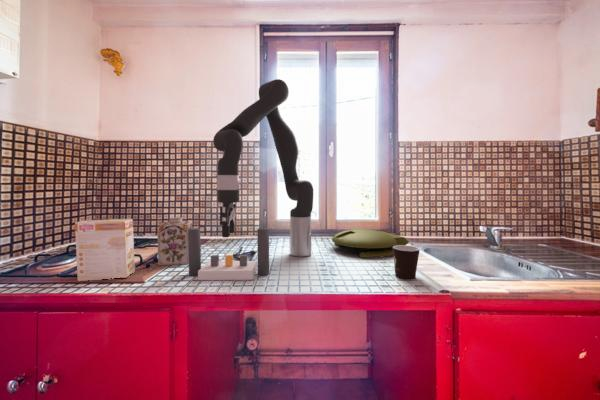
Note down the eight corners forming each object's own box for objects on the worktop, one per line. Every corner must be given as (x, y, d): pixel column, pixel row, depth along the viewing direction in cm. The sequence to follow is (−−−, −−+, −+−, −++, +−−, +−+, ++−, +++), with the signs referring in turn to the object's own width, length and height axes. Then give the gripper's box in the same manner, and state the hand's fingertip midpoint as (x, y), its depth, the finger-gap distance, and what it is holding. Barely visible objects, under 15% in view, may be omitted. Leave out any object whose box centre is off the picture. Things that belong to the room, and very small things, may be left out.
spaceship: (380, 241, 158) (380, 224, 157) (419, 255, 129) (420, 233, 128) (322, 245, 147) (322, 227, 146) (350, 261, 118) (351, 238, 117)
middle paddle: (233, 264, 101) (233, 254, 100) (232, 266, 99) (232, 255, 99) (226, 264, 100) (226, 254, 100) (225, 266, 99) (225, 255, 99)
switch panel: (257, 268, 106) (256, 251, 106) (252, 279, 94) (252, 260, 94) (208, 268, 106) (208, 251, 105) (198, 280, 94) (197, 260, 93)
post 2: (269, 271, 102) (269, 228, 101) (268, 275, 98) (268, 230, 97) (258, 272, 102) (258, 228, 101) (257, 275, 98) (256, 230, 97)
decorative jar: (157, 266, 109) (156, 219, 108) (165, 258, 121) (164, 216, 119) (190, 264, 112) (189, 219, 111) (194, 256, 123) (193, 215, 122)
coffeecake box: (135, 272, 101) (133, 218, 100) (126, 279, 94) (124, 221, 93) (89, 274, 99) (86, 219, 98) (76, 281, 92) (73, 222, 91)
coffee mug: (416, 282, 92) (417, 252, 91) (389, 277, 96) (389, 248, 96) (422, 273, 101) (422, 245, 101) (397, 269, 106) (398, 242, 105)
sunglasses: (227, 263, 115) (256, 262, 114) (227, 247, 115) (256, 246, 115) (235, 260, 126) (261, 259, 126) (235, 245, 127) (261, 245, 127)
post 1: (202, 272, 102) (201, 228, 101) (199, 276, 98) (198, 230, 97) (191, 272, 102) (190, 228, 101) (187, 276, 98) (186, 230, 97)
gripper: (235, 189, 91) (235, 238, 92) (242, 188, 105) (242, 231, 106) (211, 188, 91) (212, 238, 92) (222, 188, 105) (222, 231, 106)
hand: (228, 234), depth 99 cm, fingers open, 8 cm apart
